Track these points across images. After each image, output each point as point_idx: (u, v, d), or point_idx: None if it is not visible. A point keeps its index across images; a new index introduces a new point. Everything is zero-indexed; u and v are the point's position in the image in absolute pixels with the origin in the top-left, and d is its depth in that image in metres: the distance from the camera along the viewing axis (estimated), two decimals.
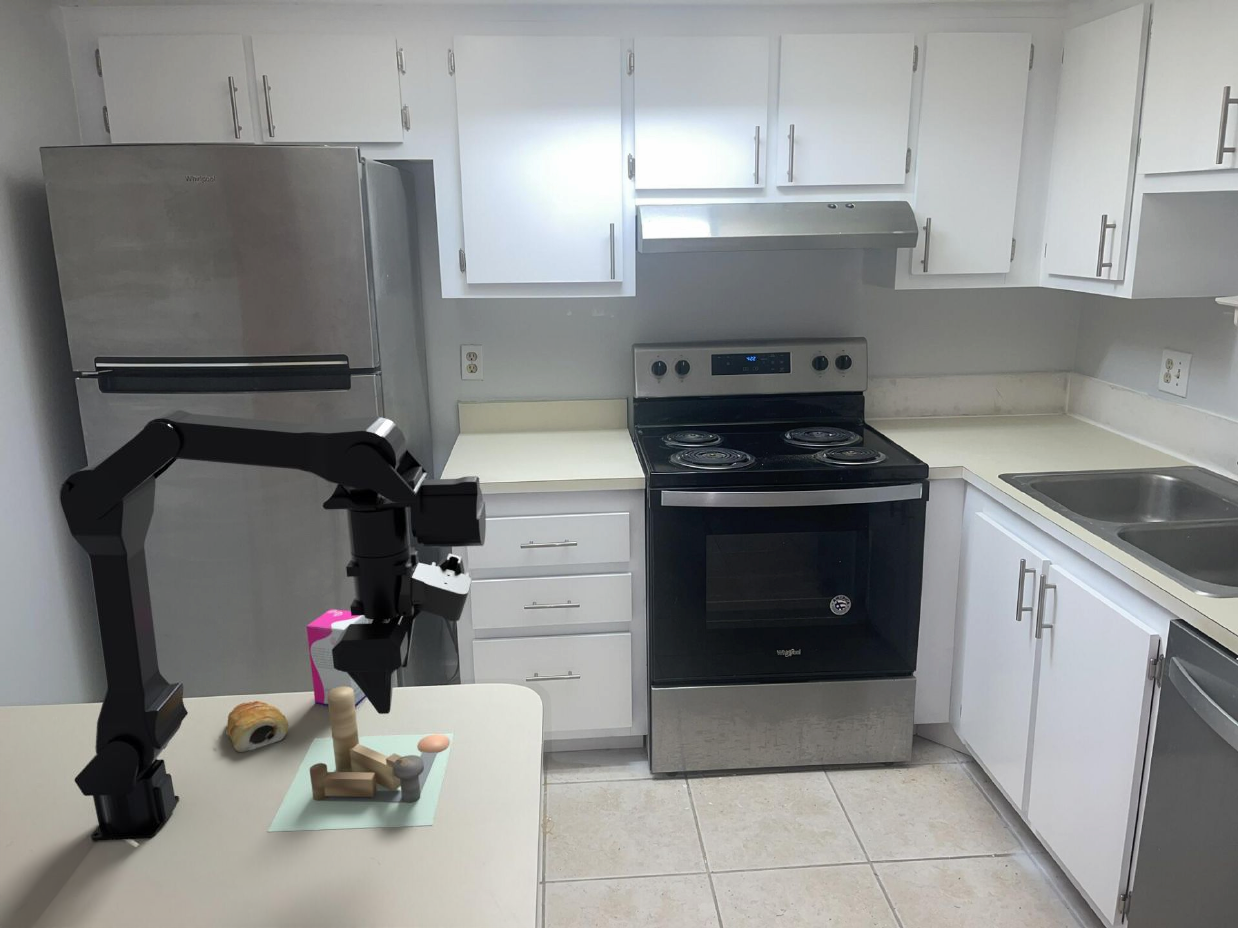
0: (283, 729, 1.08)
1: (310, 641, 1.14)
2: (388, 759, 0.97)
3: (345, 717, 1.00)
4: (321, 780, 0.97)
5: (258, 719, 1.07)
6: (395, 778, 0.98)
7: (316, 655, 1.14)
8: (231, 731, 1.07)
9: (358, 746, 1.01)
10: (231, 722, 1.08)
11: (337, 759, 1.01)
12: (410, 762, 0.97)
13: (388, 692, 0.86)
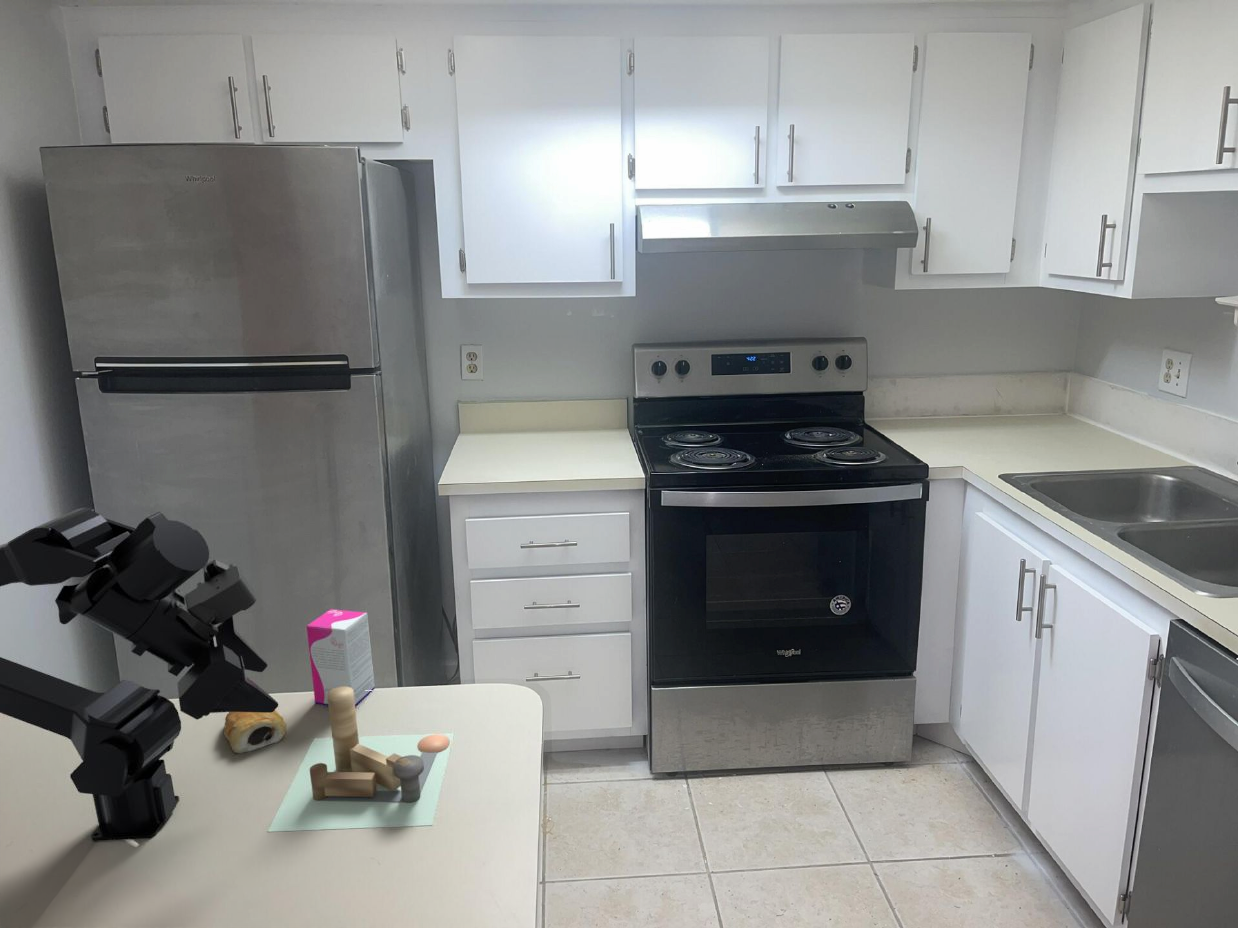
0: (281, 730, 1.08)
1: (310, 641, 1.14)
2: (388, 759, 0.97)
3: (345, 717, 1.00)
4: (321, 780, 0.97)
5: (256, 720, 1.07)
6: (395, 778, 0.98)
7: (316, 655, 1.14)
8: (229, 732, 1.07)
9: (358, 746, 1.01)
10: (229, 723, 1.08)
11: (337, 759, 1.01)
12: (410, 762, 0.97)
13: (260, 693, 0.91)
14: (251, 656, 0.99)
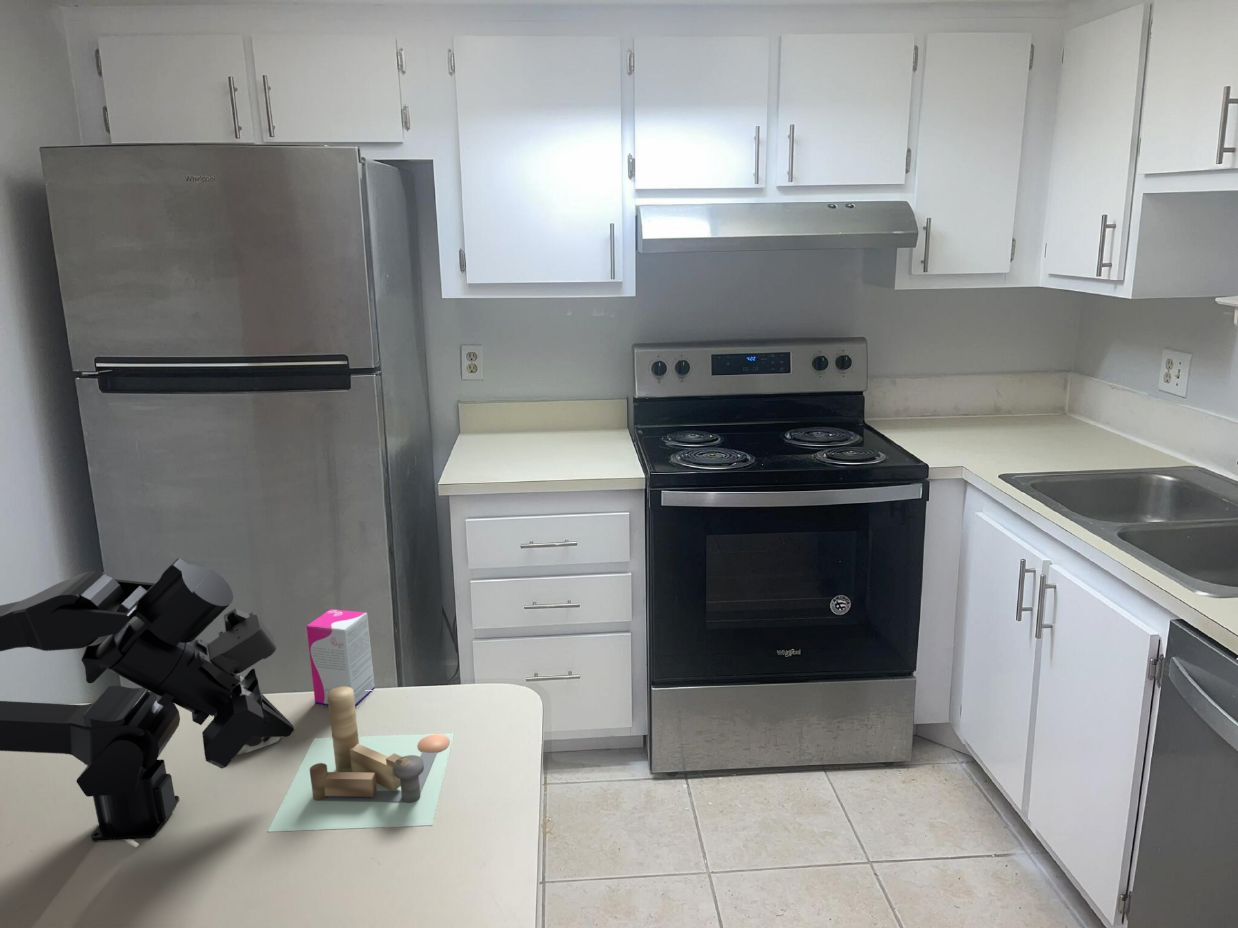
0: None
1: (310, 641, 1.14)
2: (388, 759, 0.97)
3: (345, 717, 1.00)
4: (321, 780, 0.97)
5: None
6: (395, 778, 0.98)
7: (316, 655, 1.14)
8: None
9: (358, 746, 1.01)
10: None
11: (337, 759, 1.01)
12: (410, 762, 0.97)
13: (277, 719, 0.97)
14: None
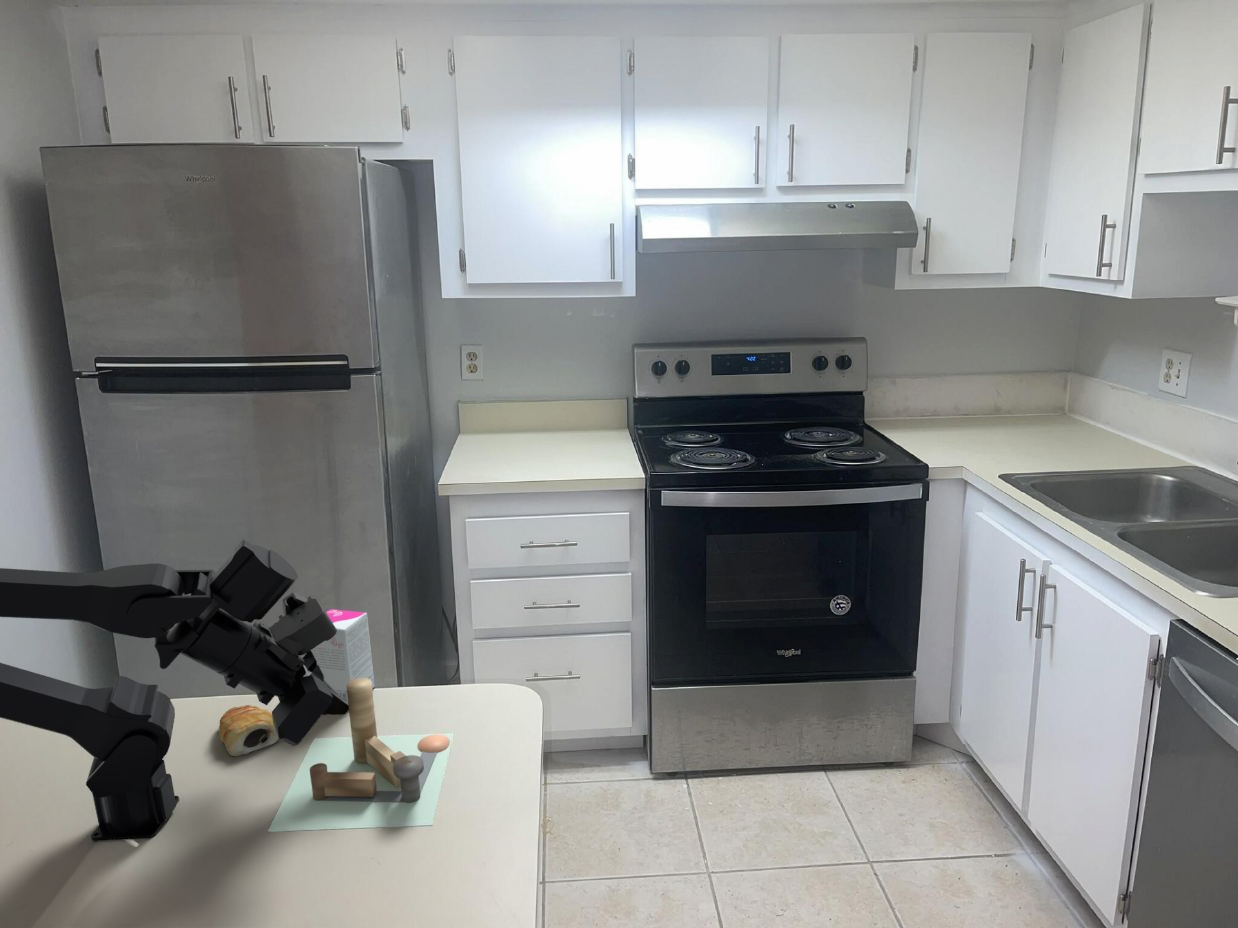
0: None
1: None
2: (392, 756, 0.98)
3: (361, 709, 1.01)
4: (321, 780, 0.97)
5: (252, 723, 1.06)
6: None
7: (316, 655, 1.14)
8: (224, 735, 1.06)
9: (373, 738, 1.02)
10: (224, 726, 1.07)
11: (354, 748, 1.03)
12: (410, 762, 0.97)
13: (335, 698, 1.00)
14: None
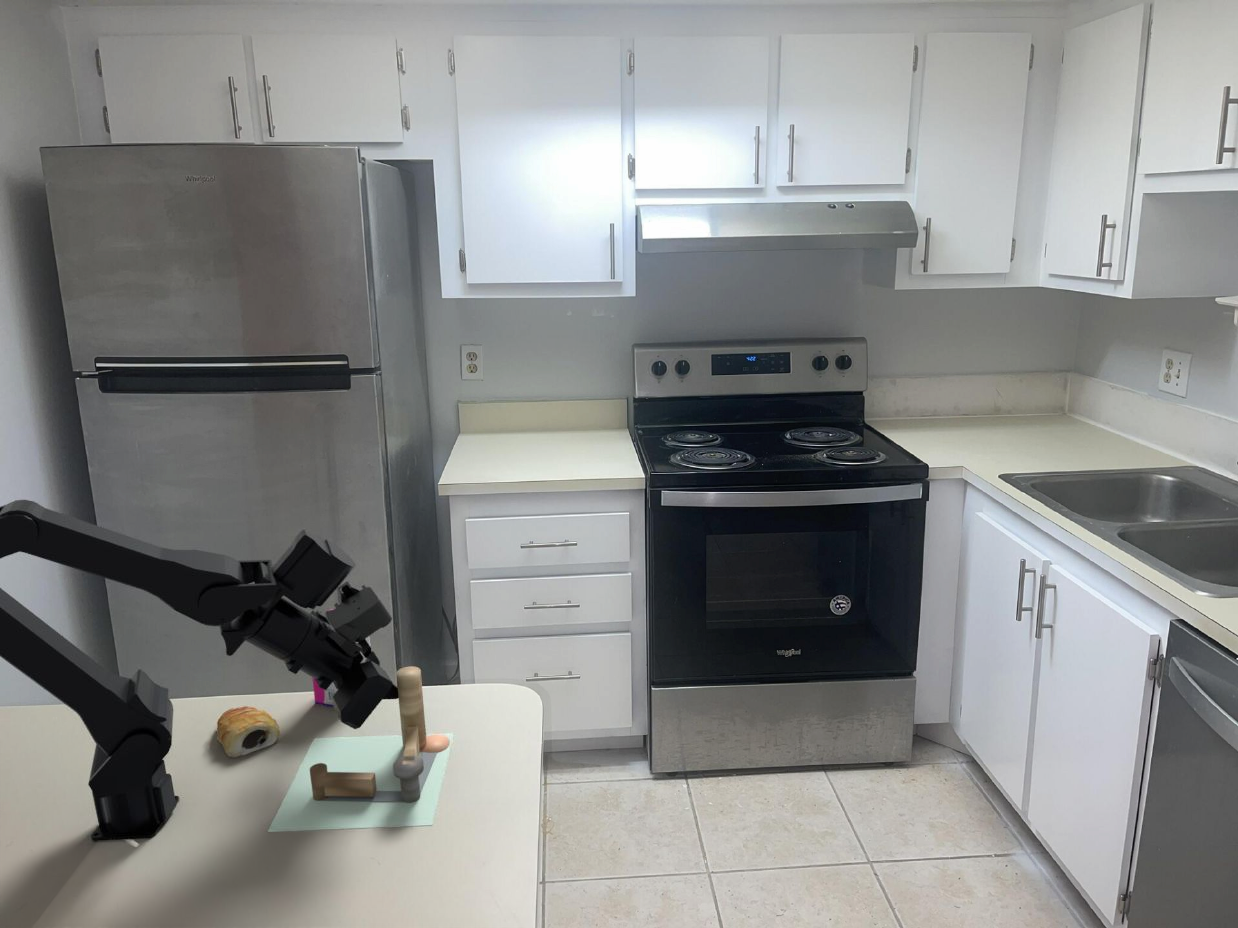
0: (275, 733, 1.08)
1: None
2: (404, 751, 0.99)
3: (404, 696, 1.04)
4: (321, 780, 0.97)
5: (250, 724, 1.06)
6: None
7: None
8: (222, 737, 1.06)
9: (414, 728, 1.04)
10: (222, 728, 1.07)
11: None
12: (411, 763, 0.96)
13: None
14: None
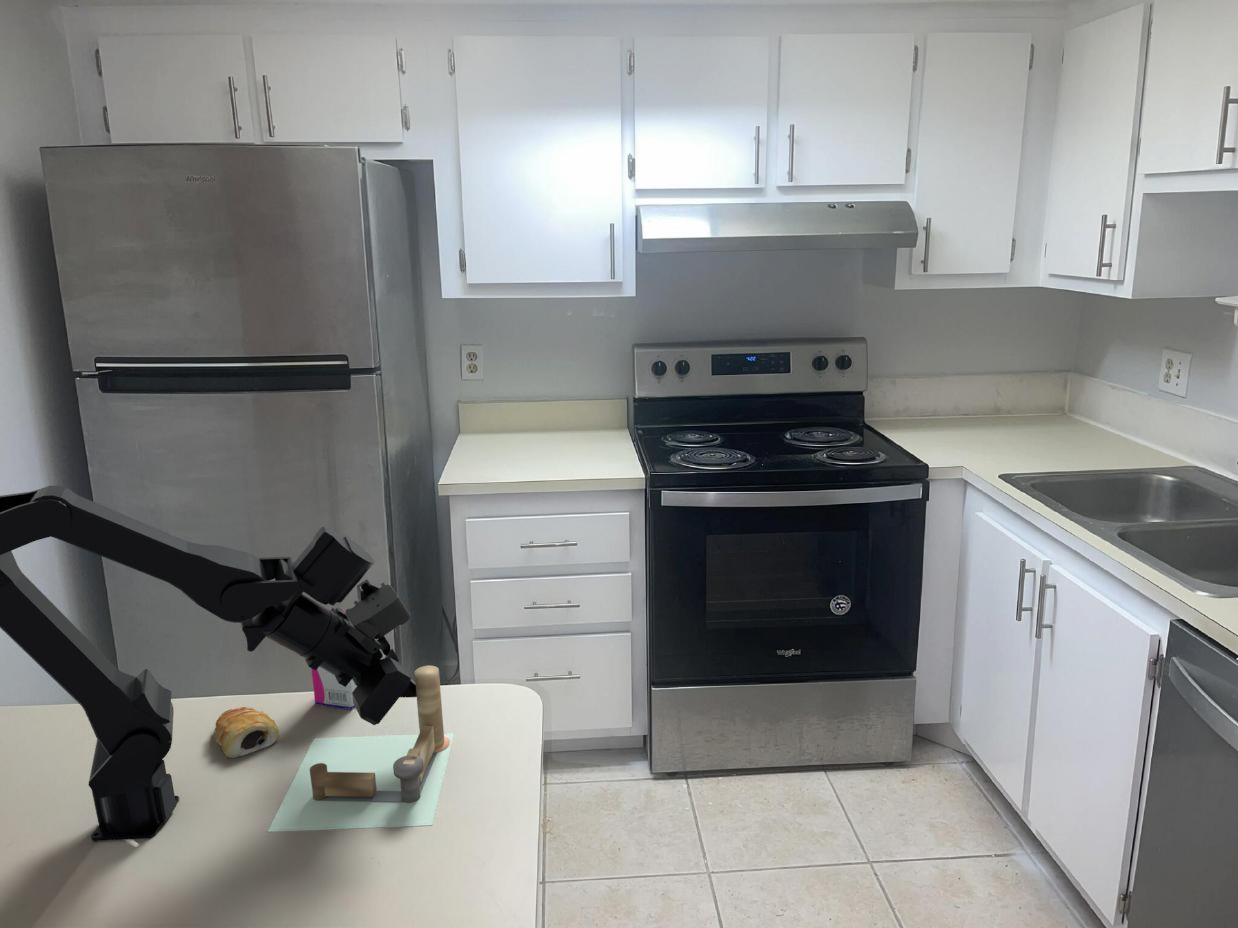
0: (274, 734, 1.08)
1: None
2: (409, 750, 0.99)
3: (420, 695, 1.04)
4: (321, 780, 0.97)
5: (249, 724, 1.06)
6: None
7: None
8: (221, 738, 1.06)
9: (428, 728, 1.04)
10: (220, 729, 1.07)
11: None
12: (411, 763, 0.96)
13: None
14: None
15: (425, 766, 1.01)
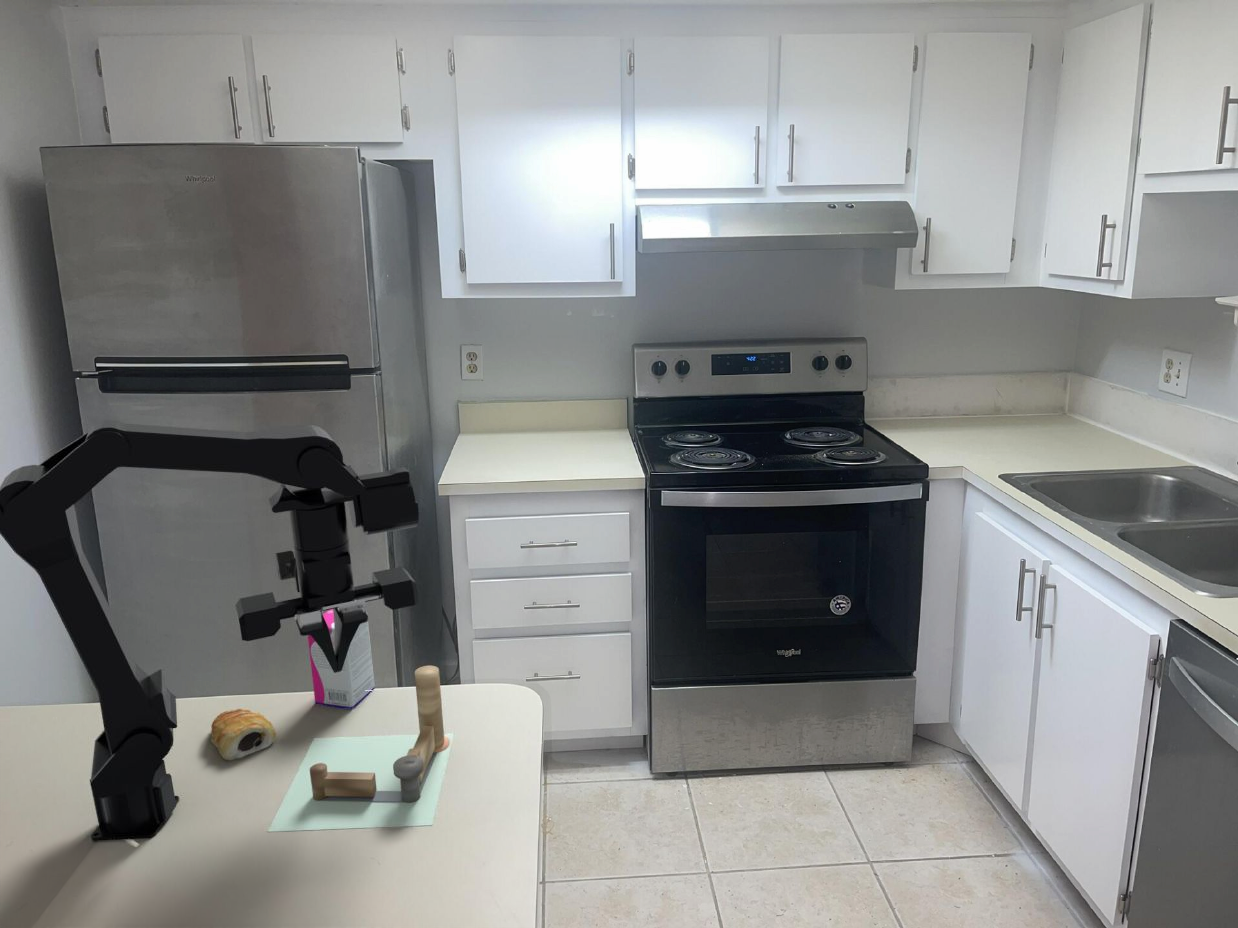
0: (271, 735, 1.07)
1: (310, 641, 1.14)
2: (409, 750, 0.99)
3: (420, 695, 1.04)
4: (321, 780, 0.97)
5: (246, 726, 1.06)
6: None
7: (316, 655, 1.14)
8: (218, 740, 1.05)
9: (428, 728, 1.04)
10: (217, 731, 1.06)
11: None
12: (411, 763, 0.96)
13: None
14: None
15: (425, 766, 1.01)
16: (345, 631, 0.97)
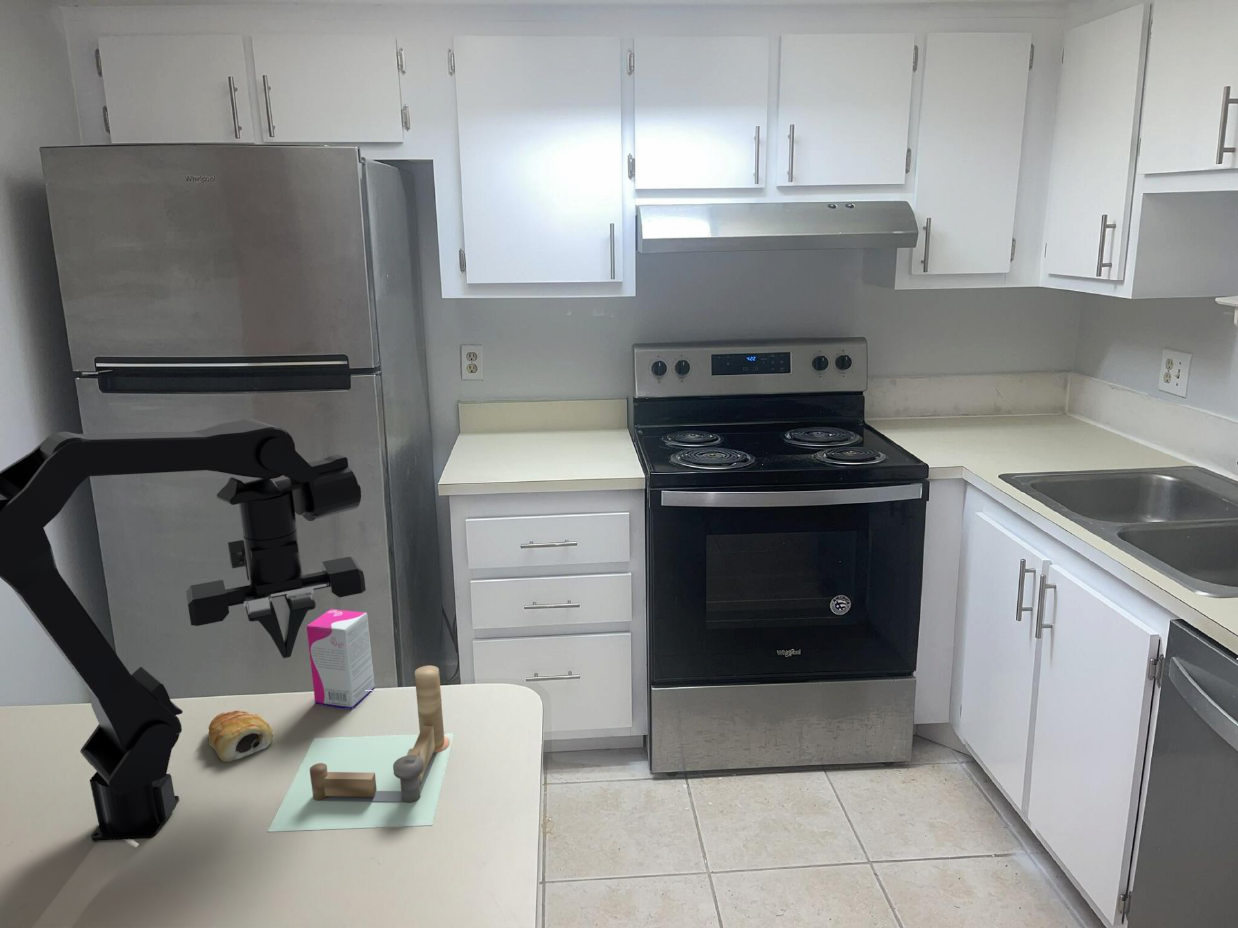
0: (268, 737, 1.07)
1: (310, 641, 1.14)
2: (409, 750, 0.99)
3: (420, 695, 1.04)
4: (321, 780, 0.97)
5: (243, 727, 1.05)
6: None
7: (316, 655, 1.14)
8: (215, 741, 1.05)
9: (428, 728, 1.04)
10: (214, 732, 1.06)
11: None
12: (411, 763, 0.96)
13: None
14: None
15: (425, 766, 1.01)
16: (293, 617, 1.01)
